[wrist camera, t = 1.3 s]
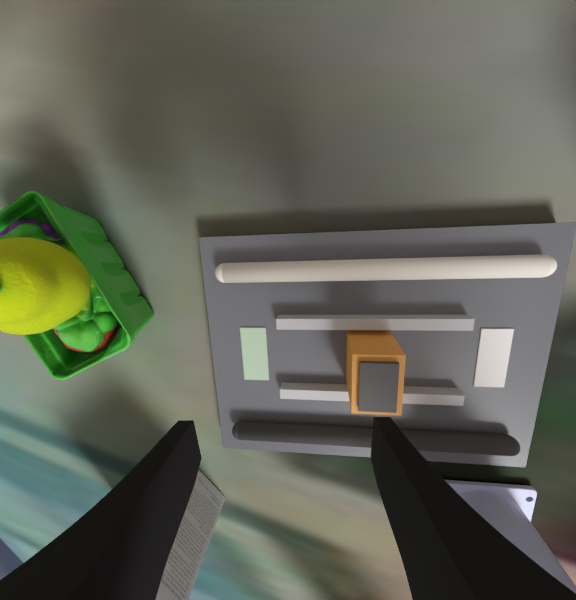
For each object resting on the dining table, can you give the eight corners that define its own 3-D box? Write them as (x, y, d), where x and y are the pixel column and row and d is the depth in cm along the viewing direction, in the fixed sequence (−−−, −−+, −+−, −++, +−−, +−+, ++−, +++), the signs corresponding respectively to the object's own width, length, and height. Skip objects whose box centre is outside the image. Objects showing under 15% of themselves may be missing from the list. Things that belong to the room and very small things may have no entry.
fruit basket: (32, 240, 23) (-225, 249, 12) (110, 186, 21) (-115, 141, 10) (108, 354, 25) (-57, 449, 14) (186, 314, 23) (64, 391, 12)
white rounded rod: (542, 275, 17) (561, 279, 16) (220, 281, 20) (213, 284, 19) (547, 253, 17) (566, 255, 16) (218, 262, 20) (211, 264, 19)
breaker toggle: (386, 380, 21) (402, 418, 16) (346, 379, 21) (351, 416, 17) (389, 330, 20) (407, 357, 15) (346, 330, 20) (352, 356, 16)
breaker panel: (512, 451, 22) (535, 478, 20) (228, 435, 25) (219, 456, 23) (556, 222, 18) (592, 221, 16) (207, 236, 21) (192, 237, 19)
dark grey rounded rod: (510, 446, 21) (523, 461, 19) (235, 431, 23) (230, 443, 22) (513, 430, 20) (527, 444, 19) (234, 416, 23) (228, 428, 22)
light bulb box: (160, 537, 30) (75, 699, 20) (117, 496, 29) (4, 641, 19) (229, 496, 27) (172, 659, 17) (183, 449, 27) (94, 590, 16)
